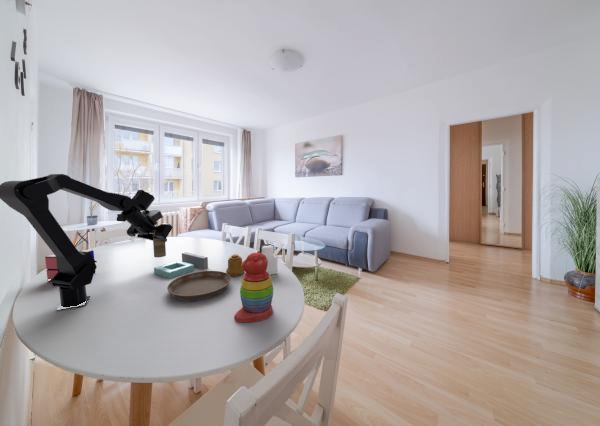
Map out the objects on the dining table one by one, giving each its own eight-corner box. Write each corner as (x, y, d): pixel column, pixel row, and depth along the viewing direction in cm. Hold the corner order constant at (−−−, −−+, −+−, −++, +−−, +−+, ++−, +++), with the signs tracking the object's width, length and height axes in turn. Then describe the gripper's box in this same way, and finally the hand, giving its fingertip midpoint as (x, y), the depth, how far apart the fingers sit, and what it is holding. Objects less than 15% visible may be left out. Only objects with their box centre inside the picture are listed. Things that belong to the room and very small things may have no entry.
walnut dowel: (164, 256, 100) (163, 232, 99) (152, 257, 99) (151, 232, 98) (166, 254, 104) (165, 230, 103) (155, 255, 103) (154, 231, 102)
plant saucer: (210, 307, 70) (209, 297, 69) (152, 300, 74) (151, 290, 73) (240, 281, 90) (240, 273, 89) (194, 276, 94) (193, 269, 93)
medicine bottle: (256, 270, 100) (256, 244, 99) (272, 268, 103) (272, 242, 102) (261, 276, 94) (260, 247, 92) (277, 273, 97) (277, 246, 95)
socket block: (169, 278, 91) (169, 272, 90) (154, 273, 96) (153, 267, 96) (194, 270, 100) (194, 264, 100) (179, 265, 106) (178, 260, 105)
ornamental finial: (230, 269, 101) (247, 270, 100) (223, 276, 94) (240, 277, 93) (230, 252, 100) (246, 253, 99) (222, 257, 93) (239, 258, 92)
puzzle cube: (72, 282, 87) (69, 257, 86) (46, 282, 87) (43, 256, 86) (96, 273, 97) (94, 250, 96) (73, 272, 97) (71, 249, 96)
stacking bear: (245, 302, 72) (244, 247, 70) (277, 304, 71) (276, 248, 69) (231, 322, 62) (229, 258, 60) (268, 324, 60) (267, 259, 59)
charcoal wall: (204, 269, 102) (203, 258, 101) (182, 263, 110) (181, 253, 109) (208, 267, 103) (207, 257, 103) (186, 262, 111) (185, 252, 111)
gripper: (167, 204, 93) (188, 227, 105) (131, 203, 98) (154, 225, 109) (152, 226, 86) (176, 248, 98) (113, 224, 91) (140, 245, 102)
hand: (161, 240), depth 102 cm, fingers closed on walnut dowel, 4 cm apart
